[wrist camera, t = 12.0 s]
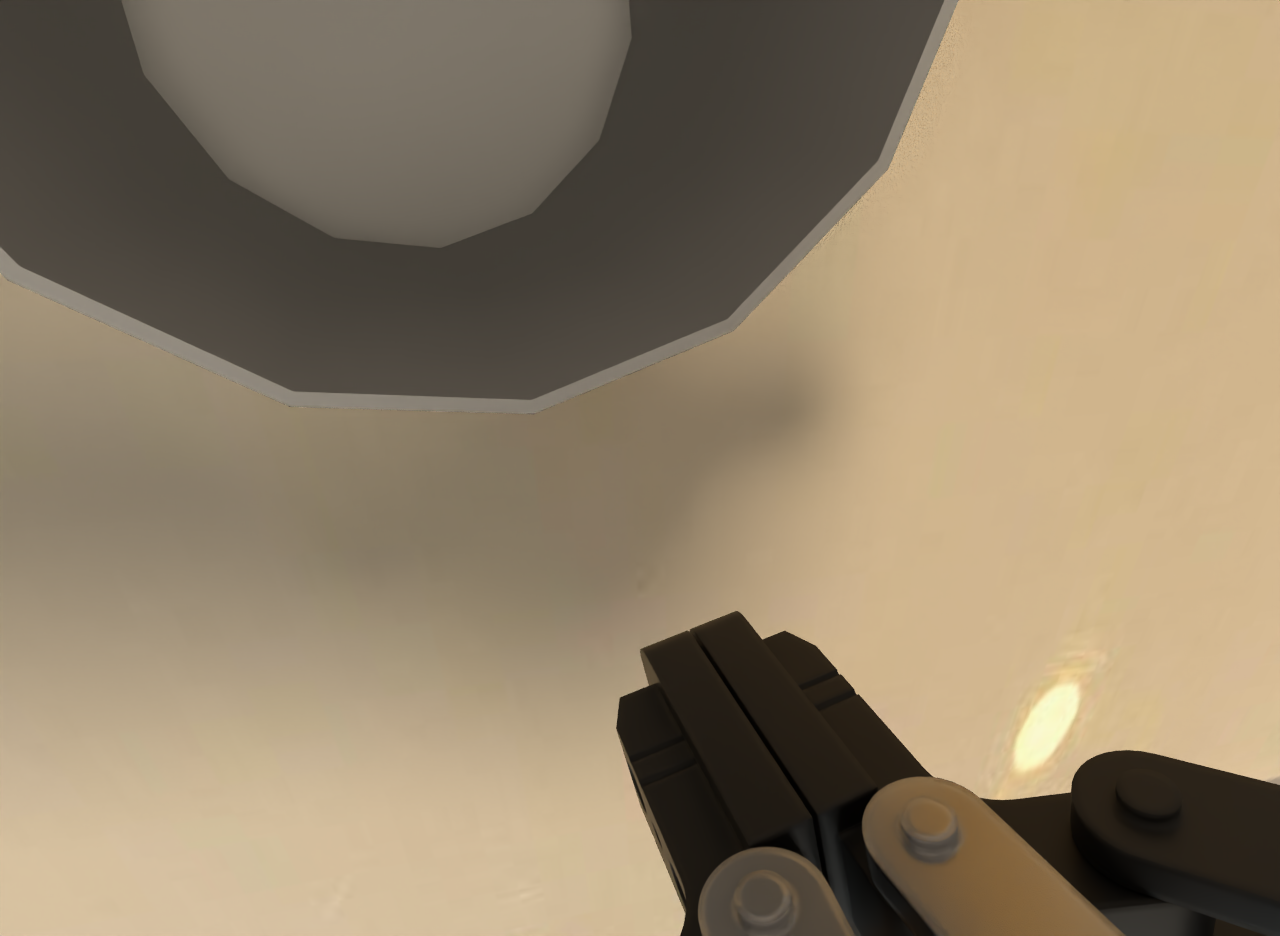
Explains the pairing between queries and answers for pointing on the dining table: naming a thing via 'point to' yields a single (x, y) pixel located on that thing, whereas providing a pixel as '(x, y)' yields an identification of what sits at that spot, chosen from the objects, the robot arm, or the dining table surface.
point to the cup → (439, 178)
